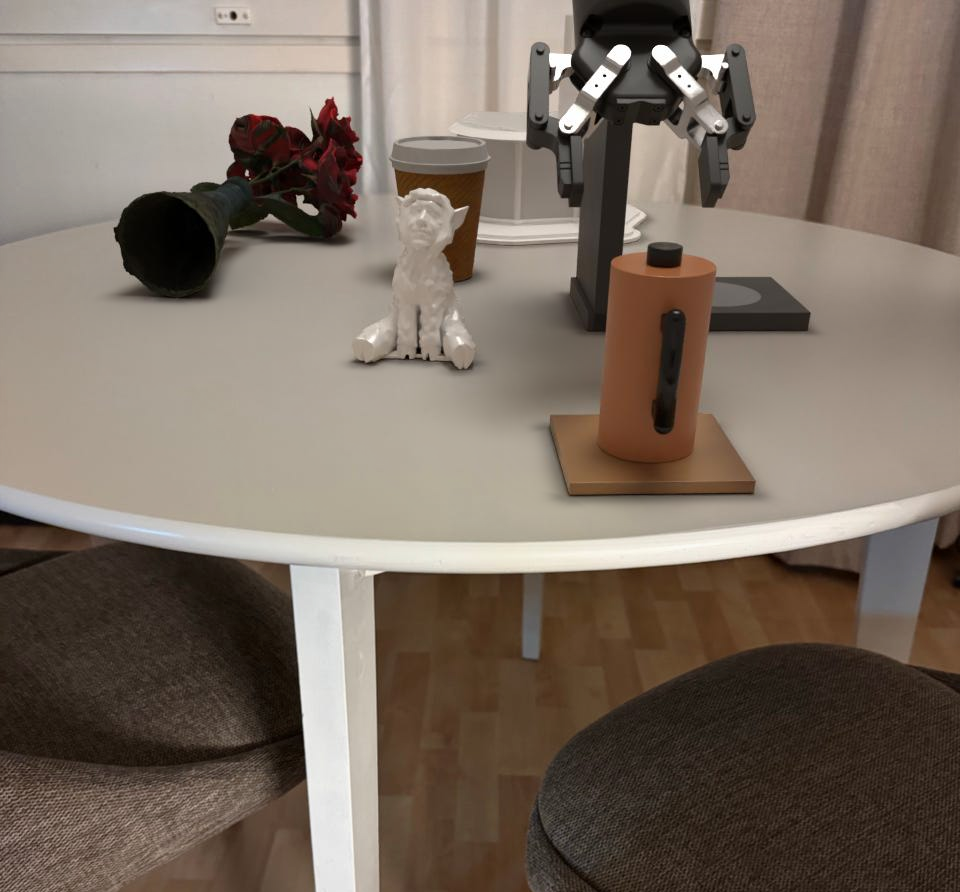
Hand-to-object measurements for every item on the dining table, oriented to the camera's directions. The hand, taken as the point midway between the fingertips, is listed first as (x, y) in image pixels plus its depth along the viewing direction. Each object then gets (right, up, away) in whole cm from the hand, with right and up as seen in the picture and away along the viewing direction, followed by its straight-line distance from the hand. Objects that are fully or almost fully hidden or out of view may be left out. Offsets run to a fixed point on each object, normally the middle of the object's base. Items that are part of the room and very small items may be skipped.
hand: (644, 200), depth 66 cm
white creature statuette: (-15, -4, +19) cm, 24 cm away
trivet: (0, -16, +1) cm, 16 cm away
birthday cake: (-4, +23, +61) cm, 66 cm away
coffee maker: (+7, +2, +29) cm, 30 cm away
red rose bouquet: (-34, +13, +45) cm, 57 cm away
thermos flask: (0, -15, +1) cm, 15 cm away
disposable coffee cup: (-14, +9, +39) cm, 42 cm away
